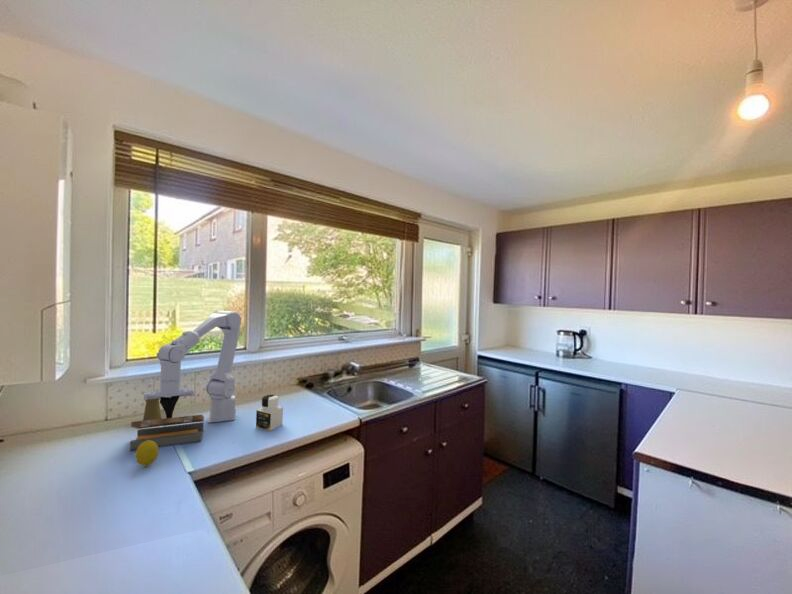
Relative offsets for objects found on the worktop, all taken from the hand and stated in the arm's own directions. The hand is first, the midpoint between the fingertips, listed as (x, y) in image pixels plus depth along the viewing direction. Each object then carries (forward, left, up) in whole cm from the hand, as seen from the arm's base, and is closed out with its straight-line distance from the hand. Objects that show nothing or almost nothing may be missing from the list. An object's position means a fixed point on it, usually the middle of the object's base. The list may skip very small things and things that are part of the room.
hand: (169, 417), depth 118 cm
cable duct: (0, -1, -8) cm, 8 cm away
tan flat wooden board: (0, 0, -3) cm, 3 cm away
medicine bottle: (-33, -2, -8) cm, 34 cm away
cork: (+9, -22, -8) cm, 25 cm away
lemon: (+3, +16, -8) cm, 19 cm away
